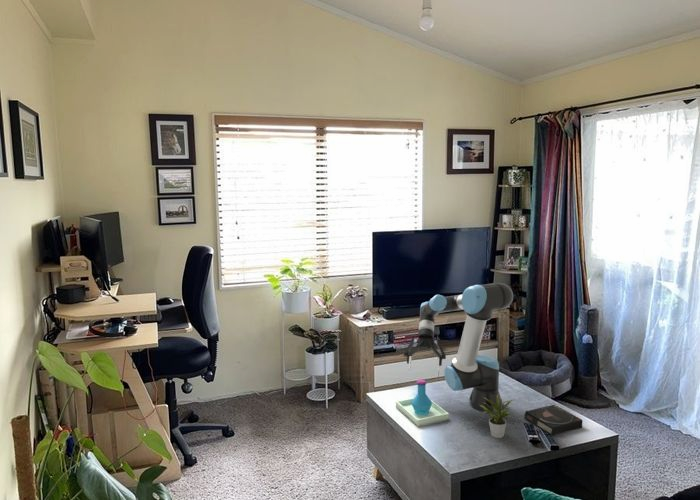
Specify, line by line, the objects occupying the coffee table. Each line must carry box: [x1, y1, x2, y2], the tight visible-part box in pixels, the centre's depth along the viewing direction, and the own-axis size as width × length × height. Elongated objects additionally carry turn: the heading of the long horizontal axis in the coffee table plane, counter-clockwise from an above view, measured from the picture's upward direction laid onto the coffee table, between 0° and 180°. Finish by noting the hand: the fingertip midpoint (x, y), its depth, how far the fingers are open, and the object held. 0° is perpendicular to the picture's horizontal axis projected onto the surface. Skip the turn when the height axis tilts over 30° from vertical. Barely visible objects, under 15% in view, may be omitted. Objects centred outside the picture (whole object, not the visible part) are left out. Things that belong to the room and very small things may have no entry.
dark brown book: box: [524, 404, 583, 436], centre depth 227 cm, size 16×17×4 cm
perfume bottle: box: [412, 378, 432, 415], centre depth 238 cm, size 9×9×15 cm
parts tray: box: [395, 397, 450, 428], centre depth 239 cm, size 21×16×3 cm
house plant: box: [480, 395, 516, 439], centre depth 218 cm, size 14×14×16 cm
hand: (423, 370), depth 246 cm, fingers open, 13 cm apart
